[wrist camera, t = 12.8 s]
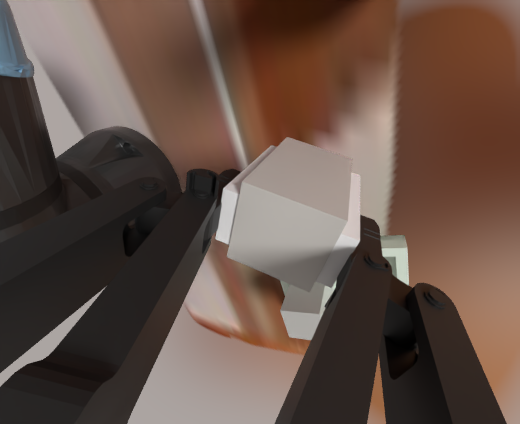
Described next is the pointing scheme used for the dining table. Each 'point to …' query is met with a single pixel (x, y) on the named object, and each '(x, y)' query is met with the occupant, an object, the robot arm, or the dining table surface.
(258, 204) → the stone
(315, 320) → the stone
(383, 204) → the dining table surface
